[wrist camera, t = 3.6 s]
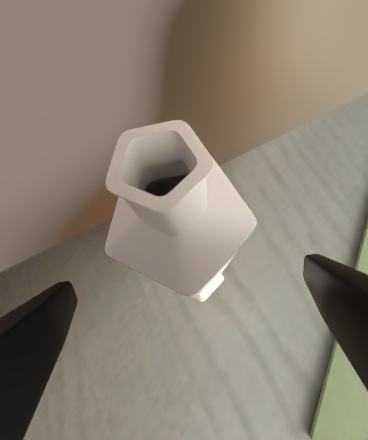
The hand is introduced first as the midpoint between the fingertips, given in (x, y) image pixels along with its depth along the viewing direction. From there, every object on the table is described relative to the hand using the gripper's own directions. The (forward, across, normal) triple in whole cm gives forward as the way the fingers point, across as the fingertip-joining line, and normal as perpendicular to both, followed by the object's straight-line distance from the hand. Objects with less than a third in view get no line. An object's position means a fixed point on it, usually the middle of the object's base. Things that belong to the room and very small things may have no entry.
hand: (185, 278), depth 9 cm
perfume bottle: (+8, 0, +6) cm, 10 cm away
